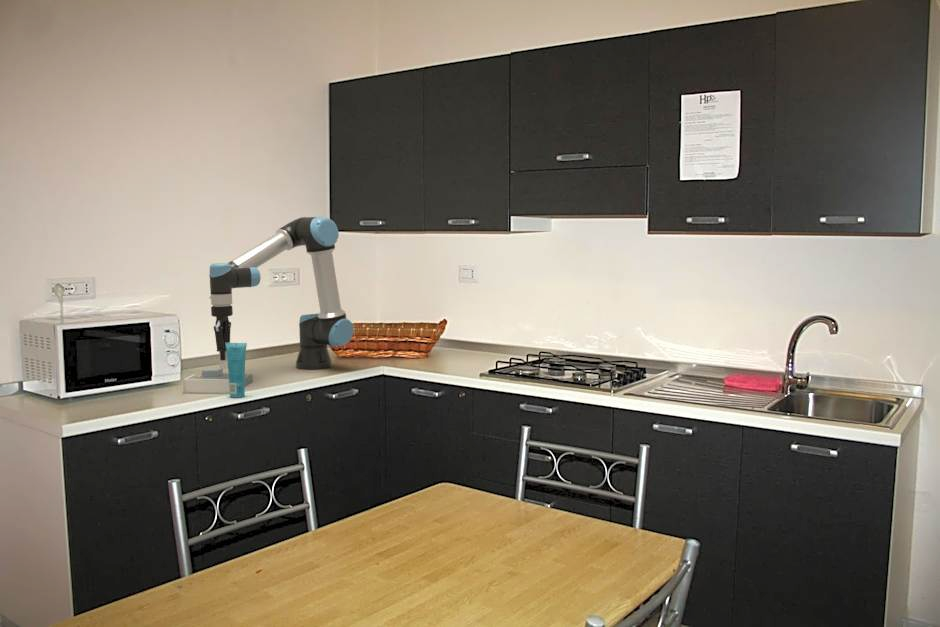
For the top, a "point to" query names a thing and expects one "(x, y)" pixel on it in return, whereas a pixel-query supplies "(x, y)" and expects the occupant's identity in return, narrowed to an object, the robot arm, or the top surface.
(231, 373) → the tube
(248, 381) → the board
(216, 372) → the tile
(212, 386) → the tray
